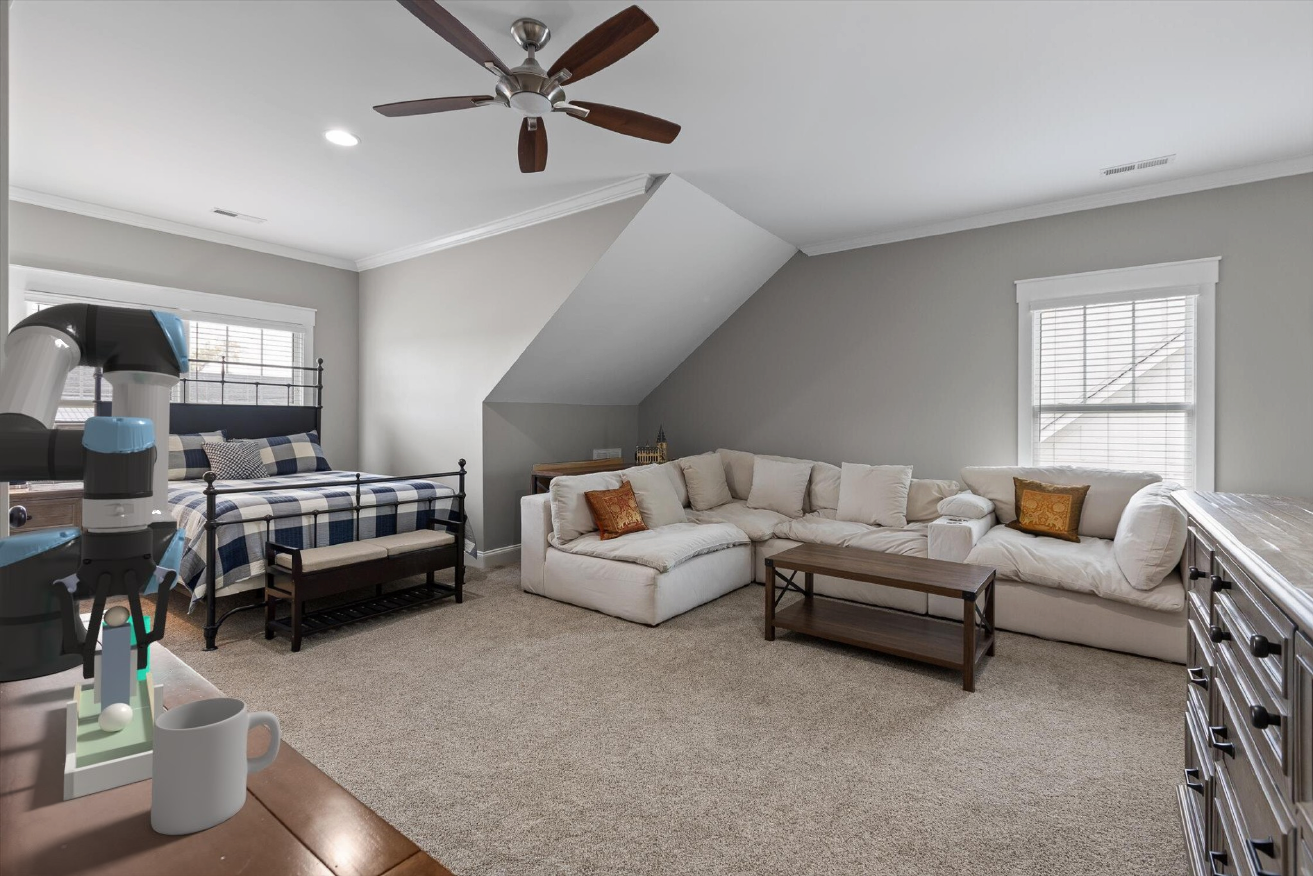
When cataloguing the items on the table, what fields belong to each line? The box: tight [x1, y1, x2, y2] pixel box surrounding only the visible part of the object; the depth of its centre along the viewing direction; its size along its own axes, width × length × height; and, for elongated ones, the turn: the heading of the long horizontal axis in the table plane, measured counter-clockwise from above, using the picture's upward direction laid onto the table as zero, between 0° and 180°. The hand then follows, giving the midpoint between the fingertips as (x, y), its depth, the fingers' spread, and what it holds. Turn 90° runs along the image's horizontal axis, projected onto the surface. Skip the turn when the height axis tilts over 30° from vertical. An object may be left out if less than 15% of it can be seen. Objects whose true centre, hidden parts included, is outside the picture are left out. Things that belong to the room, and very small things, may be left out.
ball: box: [98, 703, 133, 732], centre depth 84 cm, size 4×4×4 cm
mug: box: [150, 697, 281, 836], centre depth 72 cm, size 12×8×11 cm
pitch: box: [72, 671, 155, 769], centre depth 89 cm, size 25×9×3 cm, turn 41°
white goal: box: [63, 683, 164, 802], centre depth 77 cm, size 6×9×9 cm
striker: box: [101, 605, 131, 712], centre depth 89 cm, size 3×3×15 cm
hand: (115, 696), depth 89 cm, fingers closed on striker, 3 cm apart
